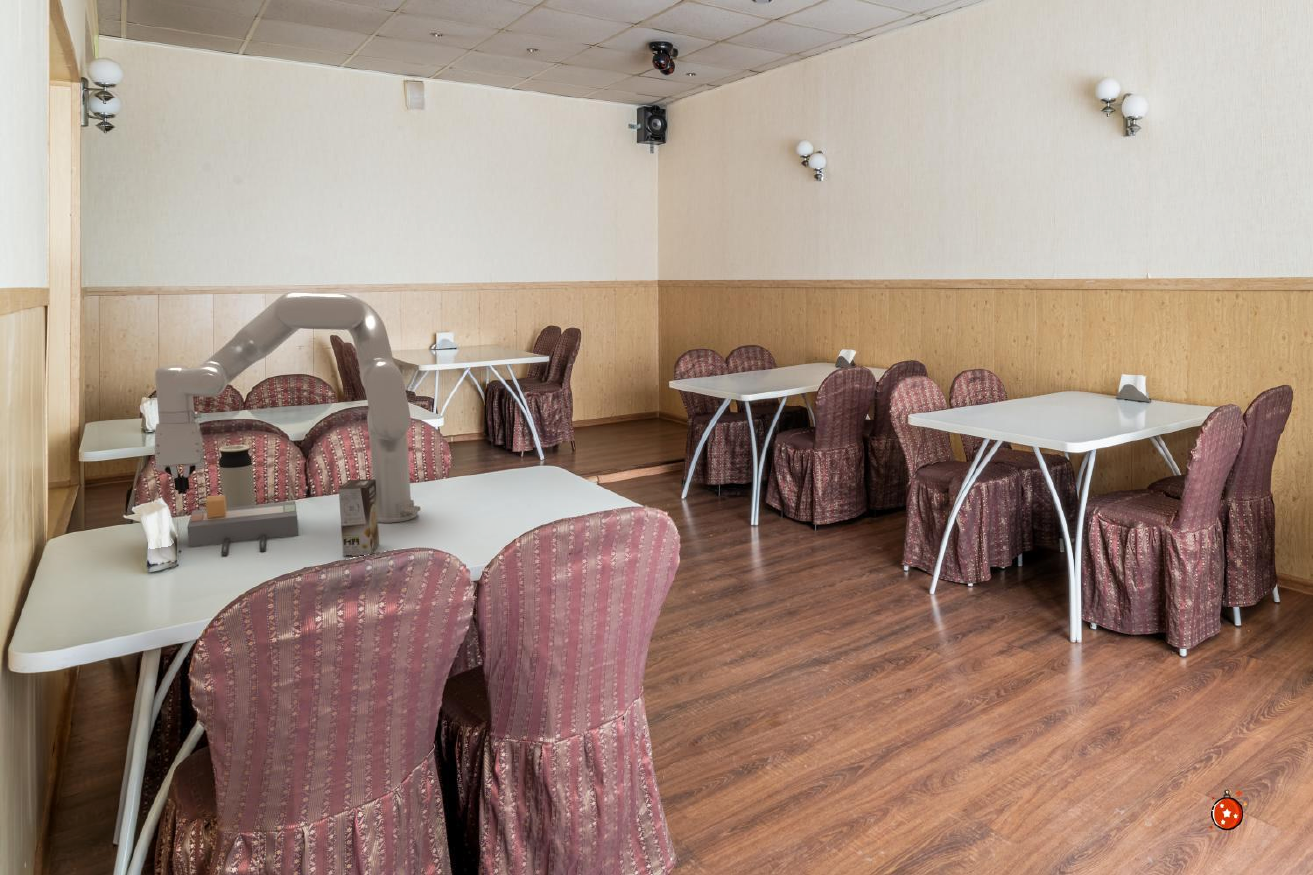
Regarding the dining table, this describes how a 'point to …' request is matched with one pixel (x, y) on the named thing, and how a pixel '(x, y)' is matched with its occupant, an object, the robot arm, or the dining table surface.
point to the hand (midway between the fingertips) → (182, 492)
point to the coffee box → (359, 517)
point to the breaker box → (243, 525)
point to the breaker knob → (216, 506)
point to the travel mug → (237, 476)
